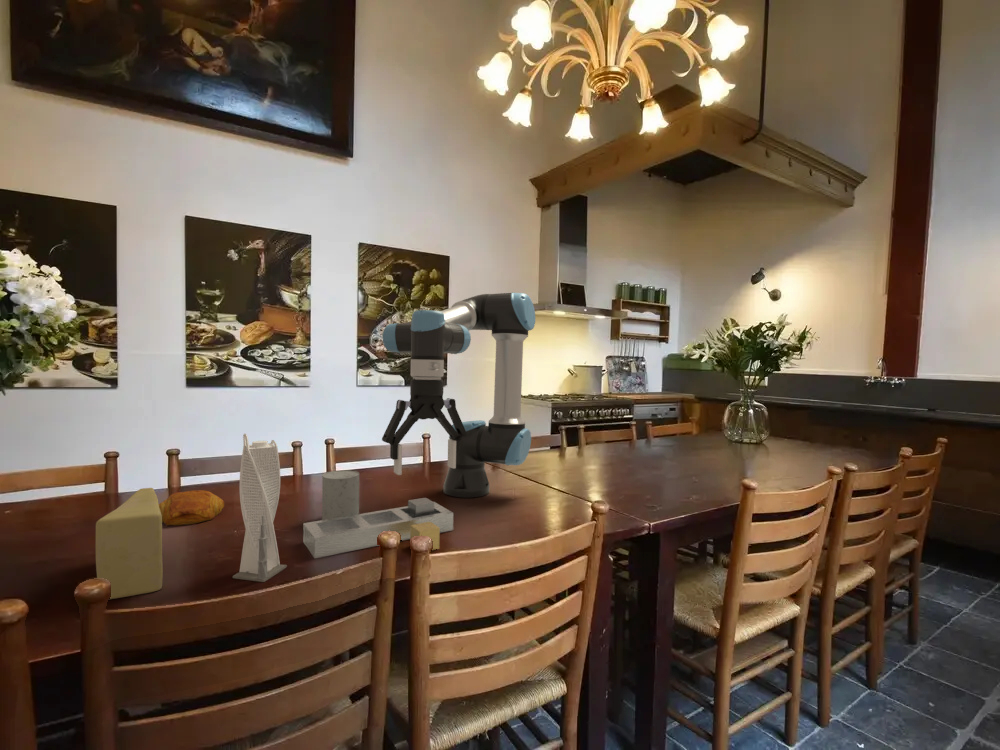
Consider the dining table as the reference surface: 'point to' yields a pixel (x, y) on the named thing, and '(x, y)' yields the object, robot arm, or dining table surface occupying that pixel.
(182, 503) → the croissant
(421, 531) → the tan foam cube
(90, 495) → the dining table surface
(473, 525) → the dining table surface
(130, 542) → the cheese
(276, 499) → the skyscraper
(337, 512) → the grey flat-topped mottled cylinder
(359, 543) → the tray
